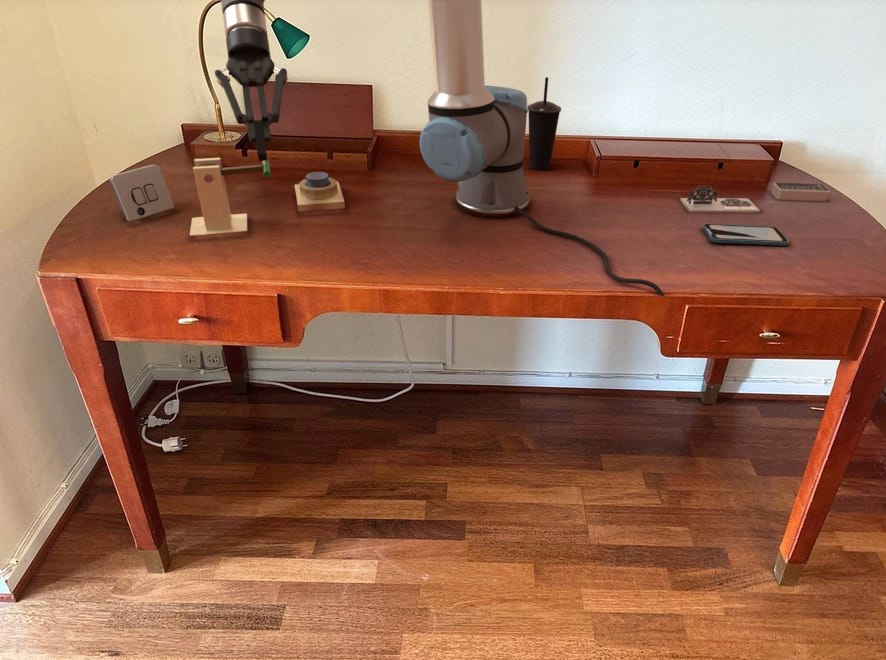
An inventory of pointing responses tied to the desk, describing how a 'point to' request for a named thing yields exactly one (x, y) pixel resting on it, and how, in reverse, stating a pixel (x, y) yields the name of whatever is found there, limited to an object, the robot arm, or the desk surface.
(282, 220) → the desk surface
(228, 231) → the switch bracket
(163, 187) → the electrical switch
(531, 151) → the drinking cup
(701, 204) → the car cutout
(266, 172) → the lever
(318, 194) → the button box
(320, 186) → the button
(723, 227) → the smartphone
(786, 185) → the multiport hub
